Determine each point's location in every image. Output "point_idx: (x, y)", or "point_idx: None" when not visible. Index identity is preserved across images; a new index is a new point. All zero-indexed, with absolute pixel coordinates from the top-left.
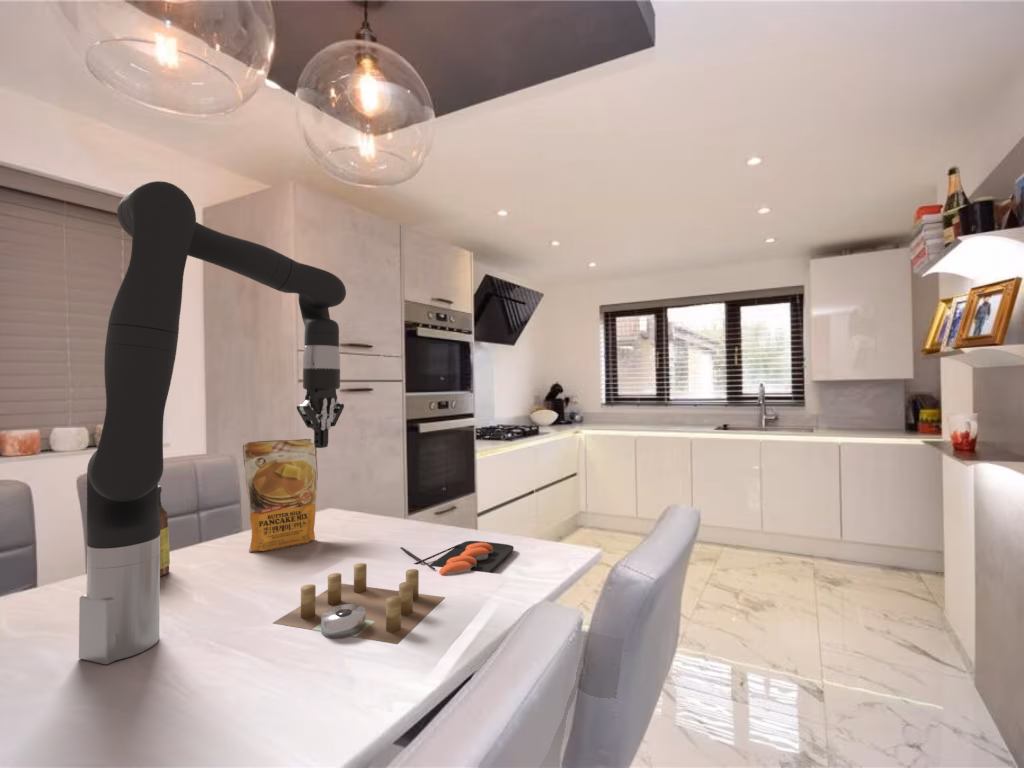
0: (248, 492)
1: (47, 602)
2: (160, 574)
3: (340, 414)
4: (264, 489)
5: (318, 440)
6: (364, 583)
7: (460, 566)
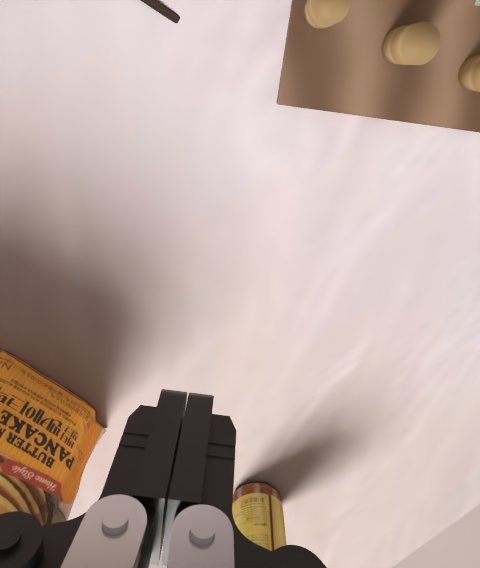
0: None
1: (374, 542)
2: (264, 485)
3: None
4: None
5: (232, 456)
6: None
7: None
